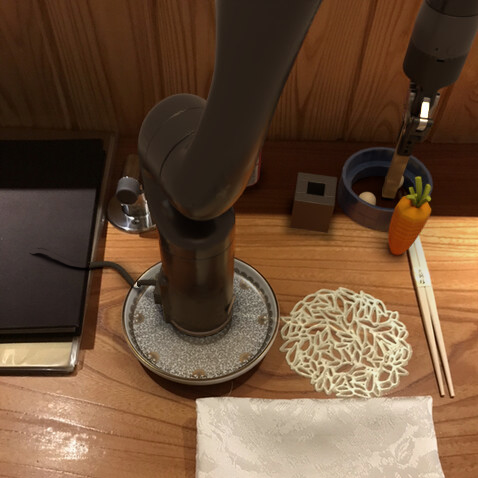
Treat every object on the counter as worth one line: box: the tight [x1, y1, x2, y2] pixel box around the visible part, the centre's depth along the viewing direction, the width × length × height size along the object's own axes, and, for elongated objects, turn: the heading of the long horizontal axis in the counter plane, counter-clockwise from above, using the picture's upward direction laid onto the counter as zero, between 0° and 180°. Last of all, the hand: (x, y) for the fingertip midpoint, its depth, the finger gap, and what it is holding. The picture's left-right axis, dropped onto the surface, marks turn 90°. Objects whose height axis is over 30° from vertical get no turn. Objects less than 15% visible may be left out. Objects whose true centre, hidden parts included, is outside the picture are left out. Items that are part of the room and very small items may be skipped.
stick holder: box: [289, 171, 338, 234], centre depth 88 cm, size 6×6×7 cm
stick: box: [381, 122, 410, 200], centre depth 86 cm, size 2×2×14 cm
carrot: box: [387, 177, 432, 256], centre depth 81 cm, size 5×5×15 cm
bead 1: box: [358, 191, 377, 206], centre depth 90 cm, size 3×3×3 cm
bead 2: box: [384, 176, 404, 189], centre depth 93 cm, size 3×3×3 cm
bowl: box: [336, 146, 434, 233], centre depth 91 cm, size 14×14×6 cm
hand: (403, 148), depth 85 cm, fingers closed on stick, 2 cm apart
